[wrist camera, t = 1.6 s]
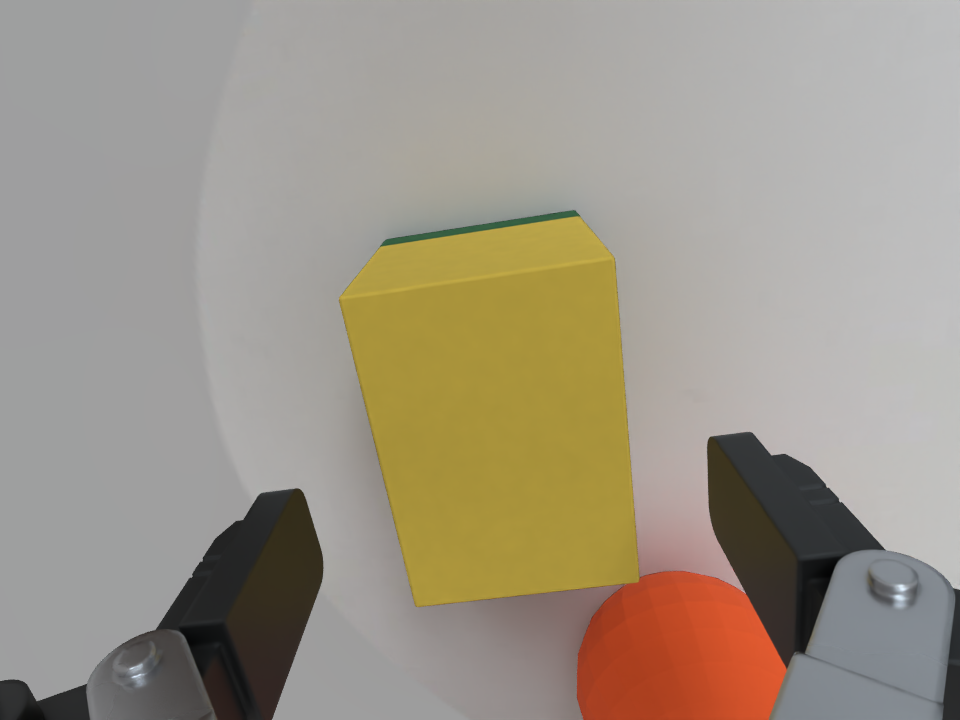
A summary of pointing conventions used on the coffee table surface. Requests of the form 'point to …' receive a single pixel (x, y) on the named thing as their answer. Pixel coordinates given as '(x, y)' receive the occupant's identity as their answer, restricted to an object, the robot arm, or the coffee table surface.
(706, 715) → the clementine
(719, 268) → the coffee table surface
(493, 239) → the sponge
